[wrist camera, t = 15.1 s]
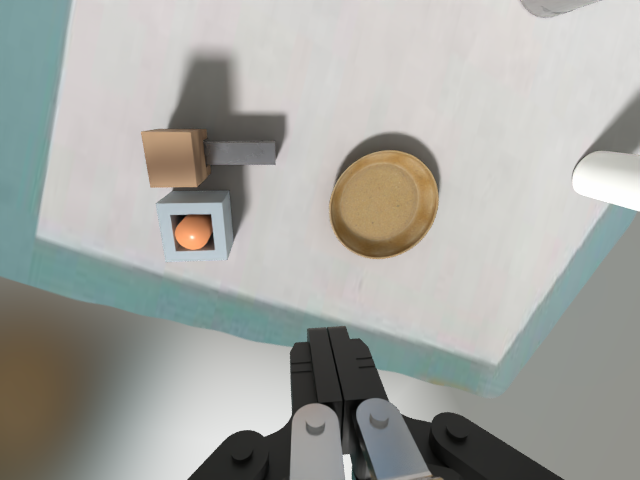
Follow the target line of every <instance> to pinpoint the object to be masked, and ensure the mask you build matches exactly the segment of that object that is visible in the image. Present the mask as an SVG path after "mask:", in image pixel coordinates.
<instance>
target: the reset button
mask: <svg viewBox="0 0 640 480" xmlns="http://www.w3.org/2000/svg"><path fill="white" fill-rule="evenodd" d="M212 232H213V226H212V217H211V214H191V215H186V216H185V217H184V219H183V220H182V221H181V222H180V223H179V224H178V226H177V227H176V230H175V236H176V239H177V241H178V243H179V244H180V245H182V246H183V247H185V248H187V249H191V250H195V249H200V248H202V247H203V246H204V245H205V244H206V243H207V241H208V240H209V238H210V236H211V234H212Z"/></svg>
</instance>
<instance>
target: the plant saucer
mask: <svg viewBox="0 0 640 480" xmlns="http://www.w3.org/2000/svg"><path fill="white" fill-rule="evenodd" d="M438 201H439V195H438V188H437V184H436V181H435V178H434V176H433V174H432V173H431V171H430V170H429V168H428V167H427V166H426V165H425V164H424V163H423V162H422V161H421V160H419V159H418V158H416V157H415V156H413V155H411V154H409V153H405V152H402V151H397V150H382V151H377V152H373V153H370V154H368V155H366V156H363V157H361V158H360V159H358V160H357V161H355V162H354V163H352V164H351V165H350V166H349V167H348V168H347V169H346V170H345V171H344V172H343V173H342V175H341V176H340V177H339V179H338V181H337V182H336V184H335V186H334V189H333V191H332V194H331V198H330V203H329V217H330V223H331V226H332V229H333V231H334V233H335V235H336V237H337V238H338V240H339V241H340V242H341V243H342V245H343V246H345V247H346V248H347V249H348V250H350V251H351V252H353V253H355V254H356V255H359V256H362V257H365V258H370V259H385V258H390V257H394V256H397V255H400V254H402V253H404V252H406V251H408V250H410V249H411V248H413V247H414V246H415V245H416V244H418V243H419V242H420V241H421V240H422V239H423V238H424V236H425V235H426V234H427V232H428V231H429V229H430V228H431V226H432V224H433V222H434V219H435V217H436V213H437V210H438Z"/></svg>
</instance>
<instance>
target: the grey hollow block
mask: <svg viewBox="0 0 640 480" xmlns="http://www.w3.org/2000/svg"><path fill="white" fill-rule="evenodd" d="M156 208H157V214H158V220H159V226H160V231H161V237H162V243H163V249H164V255H165V261H166V262H182V261H211V260H228V257H229V254H230V251H231V248H232V245H233V242H234V239H233V227H232V216H231V204H230V192H229V191H172V192H170V193H169V194H168V195H166V196H165V197H164V198H162V199H161V200H160V201H159V202H157V203H156ZM191 214H211V217H212V226H213V233H212V234H211V236H210V238H209V240H208V241H207V243H206V244H205V245H204V246H203V247H202V248H200V249H195V250H191V249H187V248H185V247H183V246H182V245H180V244H179V243H178V241H177V239H176V236H175V230H176V227H177V226H178V224H179V223H180V222H181V221H182V220H183V219H184V217H185V216H186V215H191Z"/></svg>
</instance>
